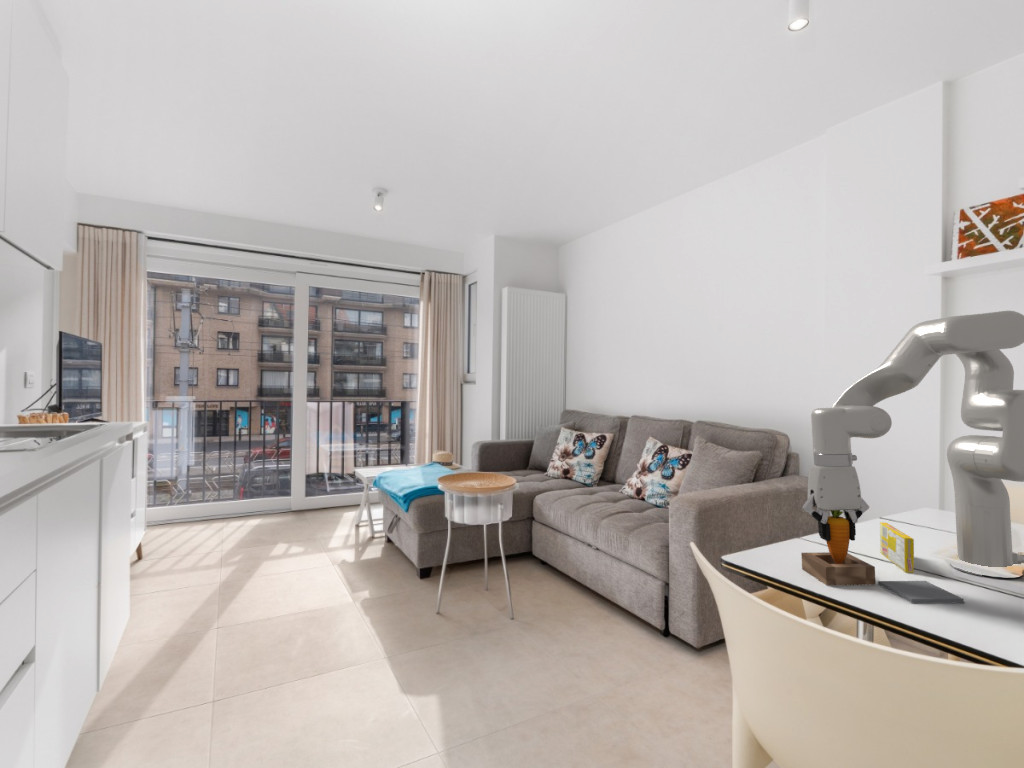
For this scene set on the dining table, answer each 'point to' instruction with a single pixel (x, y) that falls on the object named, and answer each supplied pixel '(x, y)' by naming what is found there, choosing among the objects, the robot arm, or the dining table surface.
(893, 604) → the dining table surface
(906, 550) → the candy box
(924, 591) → the rubber mat
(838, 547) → the carrot
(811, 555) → the walnut collar
